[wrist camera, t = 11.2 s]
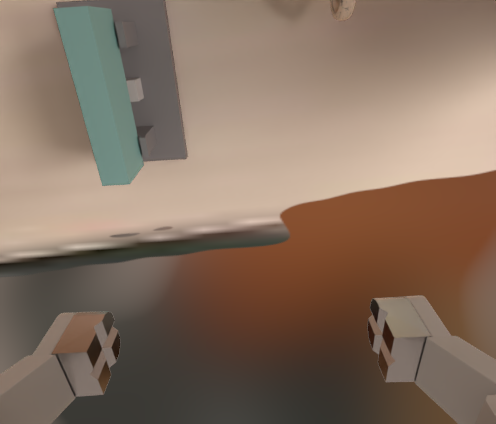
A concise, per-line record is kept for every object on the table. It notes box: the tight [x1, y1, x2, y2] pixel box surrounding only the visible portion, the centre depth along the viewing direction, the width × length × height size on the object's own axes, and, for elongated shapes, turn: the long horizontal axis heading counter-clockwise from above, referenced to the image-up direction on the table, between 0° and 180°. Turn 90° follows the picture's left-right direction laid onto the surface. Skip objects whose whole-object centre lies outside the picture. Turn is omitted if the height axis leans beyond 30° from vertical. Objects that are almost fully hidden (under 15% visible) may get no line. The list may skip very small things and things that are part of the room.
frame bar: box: [53, 6, 144, 186], centre depth 31 cm, size 2×14×5 cm, turn 3°
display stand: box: [56, 0, 187, 161], centre depth 35 cm, size 10×16×6 cm, turn 3°
